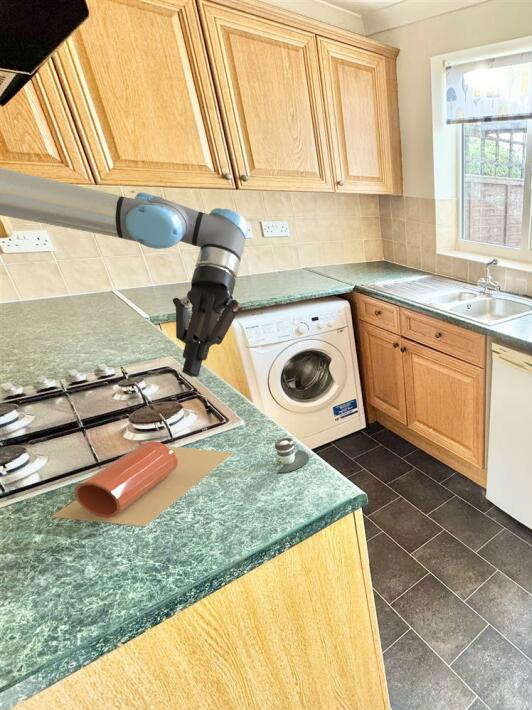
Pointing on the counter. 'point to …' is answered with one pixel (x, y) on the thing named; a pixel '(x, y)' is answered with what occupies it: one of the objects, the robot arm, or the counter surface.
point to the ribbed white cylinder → (290, 455)
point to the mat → (158, 489)
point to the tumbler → (126, 479)
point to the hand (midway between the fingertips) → (190, 374)
